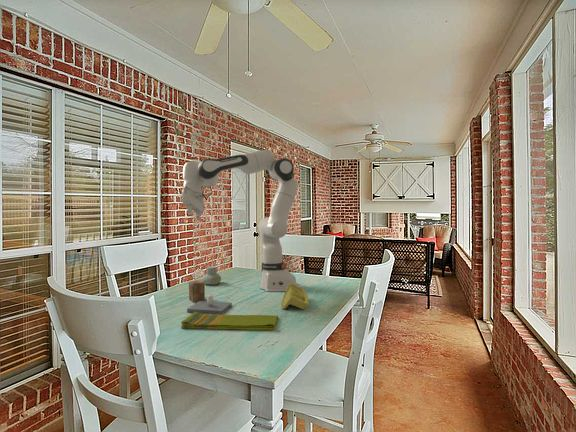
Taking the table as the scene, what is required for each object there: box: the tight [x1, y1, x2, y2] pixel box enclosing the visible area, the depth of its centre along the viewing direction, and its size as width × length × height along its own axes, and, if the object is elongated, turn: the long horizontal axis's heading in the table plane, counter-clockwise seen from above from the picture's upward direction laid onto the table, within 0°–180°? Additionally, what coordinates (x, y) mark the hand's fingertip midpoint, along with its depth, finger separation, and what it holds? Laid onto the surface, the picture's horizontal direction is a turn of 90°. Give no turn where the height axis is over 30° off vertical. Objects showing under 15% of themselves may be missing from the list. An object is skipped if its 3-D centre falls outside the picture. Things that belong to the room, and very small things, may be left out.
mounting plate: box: [186, 294, 233, 315], centre depth 150 cm, size 16×12×6 cm
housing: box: [188, 279, 206, 303], centre depth 164 cm, size 6×6×9 cm
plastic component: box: [281, 284, 310, 311], centre depth 158 cm, size 20×7×10 cm
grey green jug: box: [201, 265, 222, 286], centre depth 197 cm, size 11×8×10 cm
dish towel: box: [180, 312, 279, 332], centre depth 133 cm, size 15×36×3 cm, turn 85°
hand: (194, 217), depth 168 cm, fingers open, 8 cm apart
